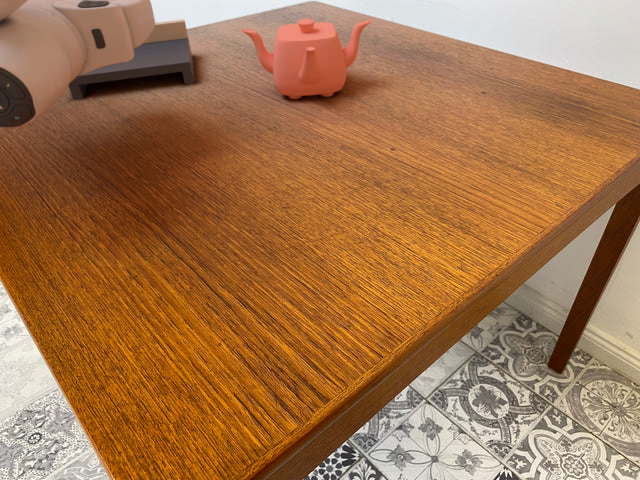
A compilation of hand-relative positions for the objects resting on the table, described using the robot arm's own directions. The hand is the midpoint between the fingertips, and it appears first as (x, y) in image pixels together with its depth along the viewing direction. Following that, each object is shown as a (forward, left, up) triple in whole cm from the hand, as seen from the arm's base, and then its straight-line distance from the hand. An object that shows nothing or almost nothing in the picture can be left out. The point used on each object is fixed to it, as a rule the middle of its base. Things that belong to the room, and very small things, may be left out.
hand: (86, 3), depth 70 cm
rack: (-12, +10, -17) cm, 23 cm away
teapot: (+17, +25, -17) cm, 34 cm away
